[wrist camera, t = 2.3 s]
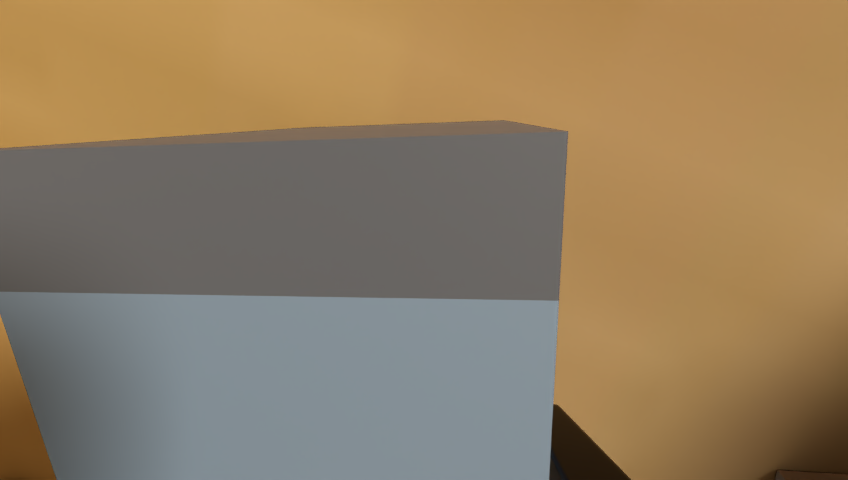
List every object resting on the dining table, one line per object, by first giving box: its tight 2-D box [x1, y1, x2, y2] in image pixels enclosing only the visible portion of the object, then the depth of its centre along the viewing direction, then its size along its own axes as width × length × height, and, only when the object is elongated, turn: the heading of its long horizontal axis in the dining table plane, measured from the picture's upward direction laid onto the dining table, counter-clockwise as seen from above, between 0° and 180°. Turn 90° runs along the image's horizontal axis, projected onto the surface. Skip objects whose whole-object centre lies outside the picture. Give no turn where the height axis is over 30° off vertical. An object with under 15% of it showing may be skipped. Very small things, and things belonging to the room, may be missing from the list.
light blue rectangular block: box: [0, 120, 568, 480], centre depth 7 cm, size 4×11×6 cm, turn 2°
